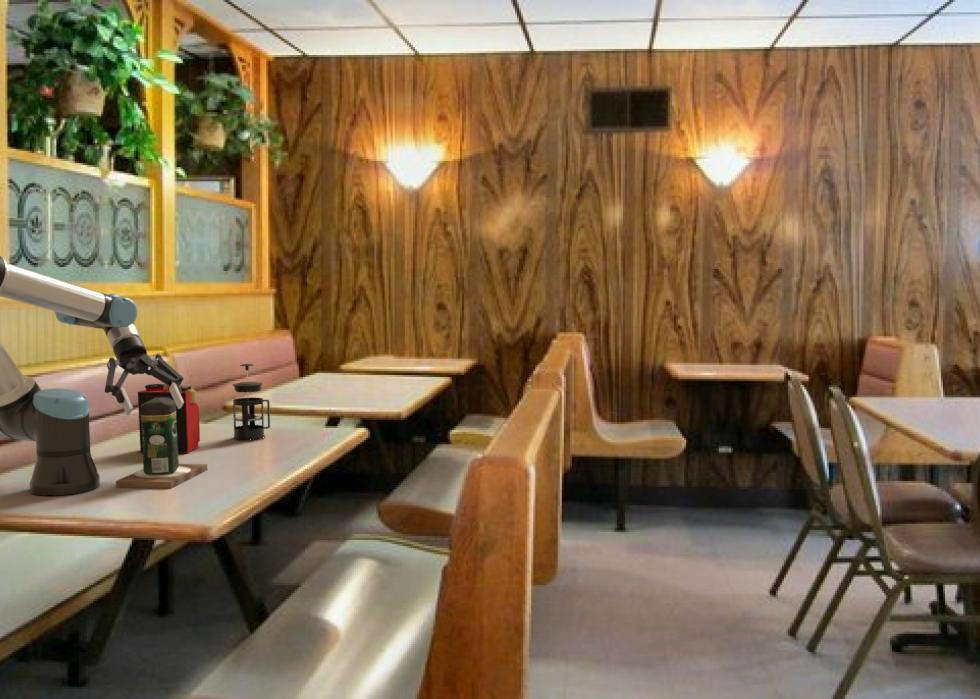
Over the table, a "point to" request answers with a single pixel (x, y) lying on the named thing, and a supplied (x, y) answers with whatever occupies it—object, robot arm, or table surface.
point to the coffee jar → (159, 436)
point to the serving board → (162, 477)
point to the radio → (184, 416)
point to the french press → (249, 411)
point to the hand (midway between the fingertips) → (156, 408)
